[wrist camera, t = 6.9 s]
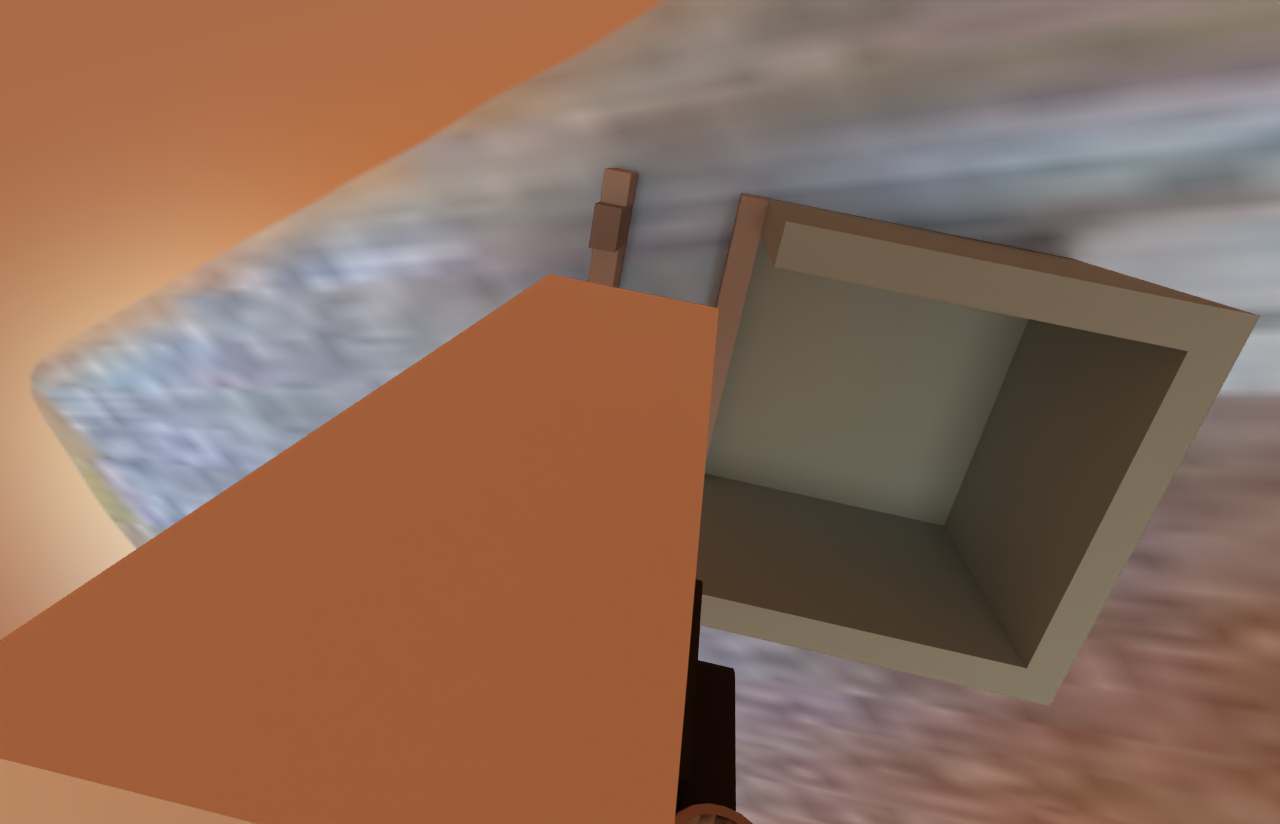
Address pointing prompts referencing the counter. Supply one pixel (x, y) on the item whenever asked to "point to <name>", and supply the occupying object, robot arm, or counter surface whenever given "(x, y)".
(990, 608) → the cabinet
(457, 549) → the door
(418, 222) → the counter surface
